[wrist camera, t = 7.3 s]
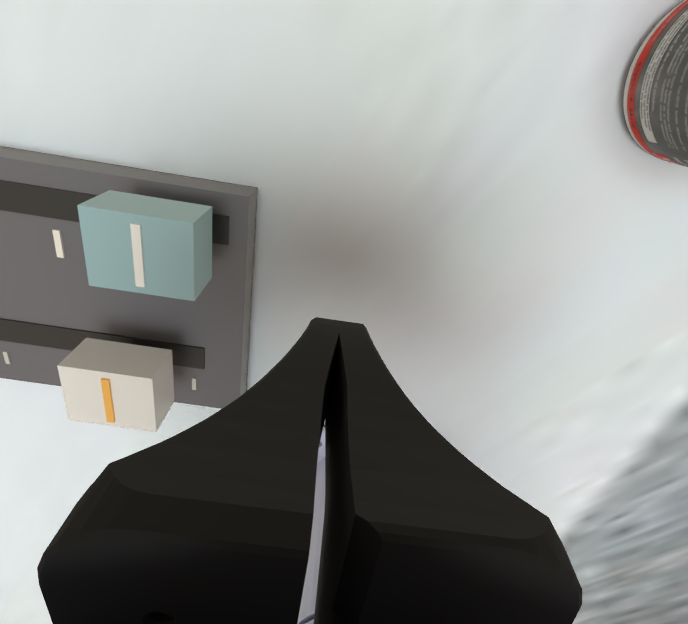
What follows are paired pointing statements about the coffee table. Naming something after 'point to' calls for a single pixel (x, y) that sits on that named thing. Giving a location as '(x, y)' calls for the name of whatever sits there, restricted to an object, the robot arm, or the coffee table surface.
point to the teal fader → (147, 244)
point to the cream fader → (117, 384)
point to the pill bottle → (661, 89)
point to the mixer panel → (110, 304)
